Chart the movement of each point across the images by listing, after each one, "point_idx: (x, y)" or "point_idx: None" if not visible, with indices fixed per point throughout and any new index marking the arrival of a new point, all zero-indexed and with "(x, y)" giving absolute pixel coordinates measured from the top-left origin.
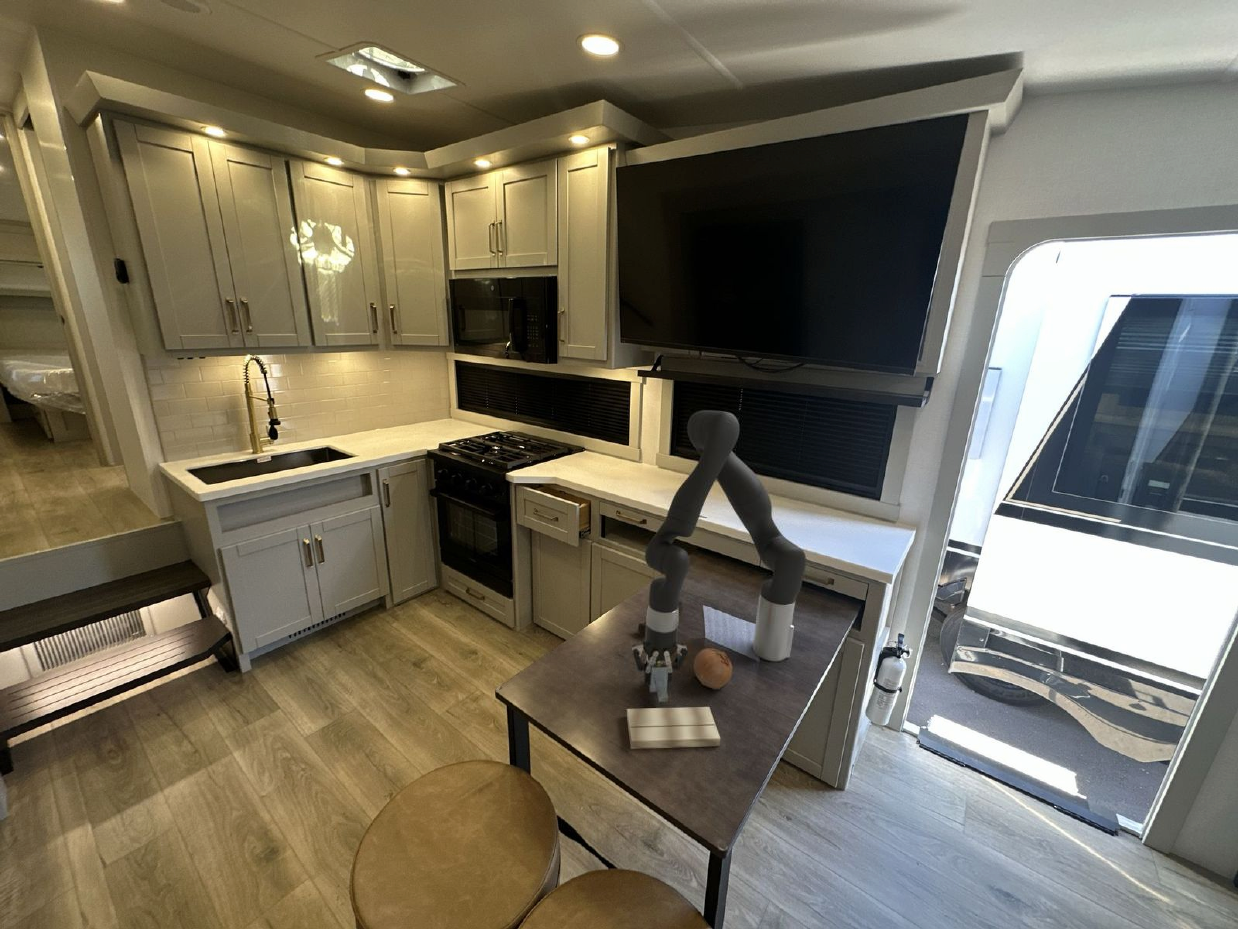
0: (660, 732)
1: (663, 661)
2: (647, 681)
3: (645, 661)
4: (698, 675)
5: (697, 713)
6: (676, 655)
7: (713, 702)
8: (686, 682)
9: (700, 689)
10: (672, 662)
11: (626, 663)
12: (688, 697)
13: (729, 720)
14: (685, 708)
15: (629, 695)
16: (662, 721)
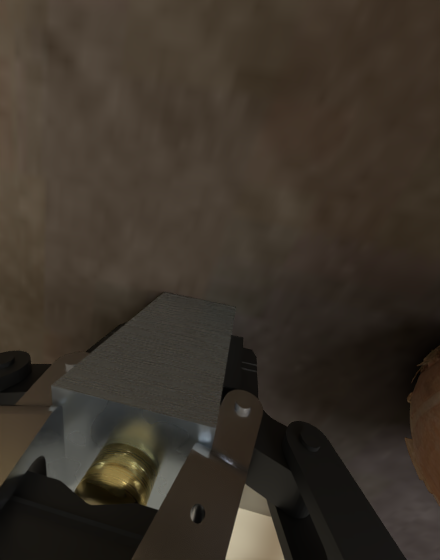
0: None
1: (172, 473)
2: None
3: (33, 389)
4: (422, 469)
5: (278, 542)
6: (336, 552)
7: (388, 463)
8: (341, 343)
9: (381, 396)
10: (269, 458)
11: (84, 139)
12: (301, 416)
13: (389, 532)
14: (244, 514)
15: (79, 346)
16: None
